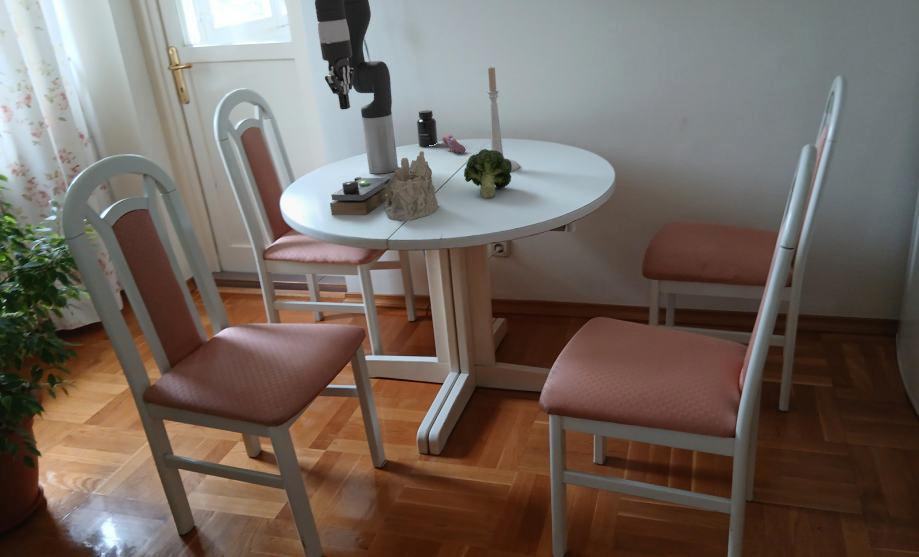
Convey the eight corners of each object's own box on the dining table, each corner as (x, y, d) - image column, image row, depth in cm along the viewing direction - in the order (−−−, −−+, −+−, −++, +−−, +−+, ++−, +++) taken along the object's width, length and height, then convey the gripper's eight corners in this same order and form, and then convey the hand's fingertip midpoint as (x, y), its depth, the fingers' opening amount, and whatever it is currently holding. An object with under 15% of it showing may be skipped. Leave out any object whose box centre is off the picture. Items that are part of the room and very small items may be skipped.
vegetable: (454, 193, 194) (458, 156, 204) (489, 218, 200) (491, 181, 210) (486, 168, 187) (488, 131, 197) (521, 195, 193) (522, 158, 203)
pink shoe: (447, 153, 256) (437, 137, 253) (458, 146, 256) (448, 129, 253) (456, 159, 247) (445, 142, 244) (467, 151, 248) (457, 134, 244)
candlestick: (503, 175, 216) (496, 69, 205) (468, 171, 223) (460, 69, 212) (527, 164, 225) (522, 62, 214) (493, 161, 233) (486, 63, 221)
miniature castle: (404, 198, 202) (397, 144, 195) (451, 207, 192) (445, 151, 185) (364, 217, 191) (354, 161, 185) (410, 228, 182) (402, 170, 175)
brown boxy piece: (359, 192, 212) (357, 177, 210) (401, 193, 207) (399, 176, 206) (326, 214, 194) (323, 197, 192) (372, 215, 190) (369, 197, 188)
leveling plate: (362, 183, 208) (360, 169, 207) (391, 183, 205) (389, 169, 204) (332, 200, 193) (330, 185, 191) (363, 200, 190) (361, 185, 188)
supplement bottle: (421, 148, 260) (417, 114, 256) (417, 145, 266) (413, 111, 262) (440, 145, 262) (437, 111, 257) (435, 142, 268) (432, 108, 264)
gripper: (333, 37, 193) (343, 104, 200) (309, 43, 182) (320, 114, 188) (359, 35, 191) (368, 103, 198) (336, 41, 179) (347, 113, 186)
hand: (345, 108), depth 193 cm, fingers closed
